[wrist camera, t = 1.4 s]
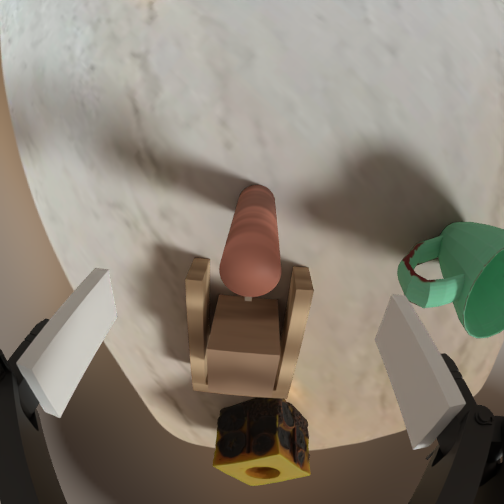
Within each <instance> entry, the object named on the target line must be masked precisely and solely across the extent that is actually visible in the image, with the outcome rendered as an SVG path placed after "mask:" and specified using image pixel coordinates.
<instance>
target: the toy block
mask: <svg viewBox="0 0 504 504" xmlns="http://www.w3.org/2000/svg"><path fill="white" fill-rule="evenodd" d="M307 427H308V422H307V420H306V419H305V418H304V417H303V416H302V414H301V413H300V412H299V411H298V410H296V408H295V407H294V406H292V404H289V403H287V402H286V400H285V399H284V398H264V397H259V398H256V399H253V400H250V401H247V402H243V403H241V404H238V405H235V406H232V407H228V408H223V409H222V410H221V411H220V417H219V419H218V427H217V439H216V445H215V446H216V451H215V455H214V459H213V466H214V467H215V468H217V469H219V470H221V471H222V472H224V473H226V474H228V475H230V476H232V477H234V478H236V479H238V480H240V481H242V482H244V483H246V484H248V485H251V486H255V485H263V484H269V483H276V482H280V481H285V480H289V479H294V478H299V477H304V476H309V475H310V474H311V473H310V465H309V456H310V455H309V449H308V443H309V436H308V435H309V434H308V428H307Z"/></svg>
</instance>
